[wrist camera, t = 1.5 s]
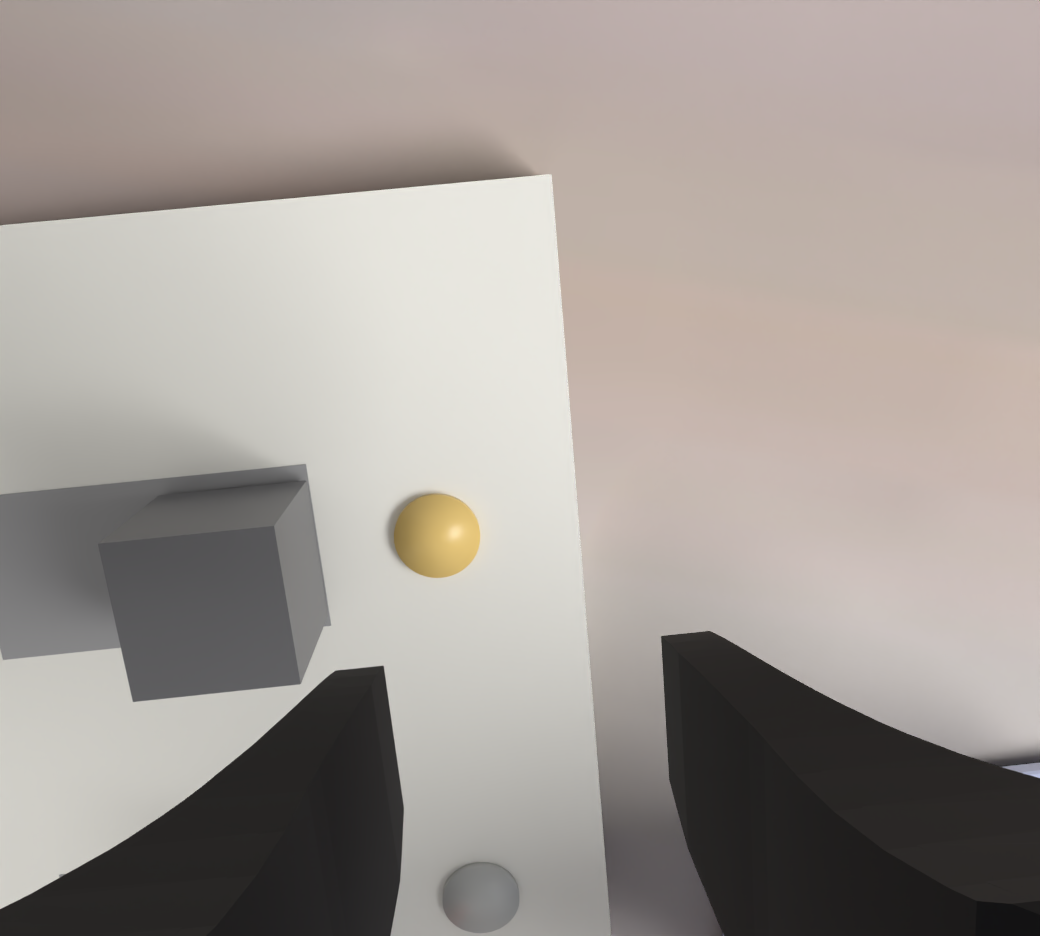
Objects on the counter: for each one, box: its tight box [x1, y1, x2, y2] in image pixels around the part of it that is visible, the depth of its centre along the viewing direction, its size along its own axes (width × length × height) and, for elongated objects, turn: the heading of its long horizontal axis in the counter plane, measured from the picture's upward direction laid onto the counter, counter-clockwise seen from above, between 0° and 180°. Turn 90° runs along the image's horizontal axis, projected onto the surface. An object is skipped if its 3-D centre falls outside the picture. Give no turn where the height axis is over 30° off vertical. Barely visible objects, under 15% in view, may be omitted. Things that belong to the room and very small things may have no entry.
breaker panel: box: [0, 174, 611, 936], centre depth 19 cm, size 15×20×4 cm
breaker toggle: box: [98, 481, 328, 702], centre depth 17 cm, size 3×3×3 cm
